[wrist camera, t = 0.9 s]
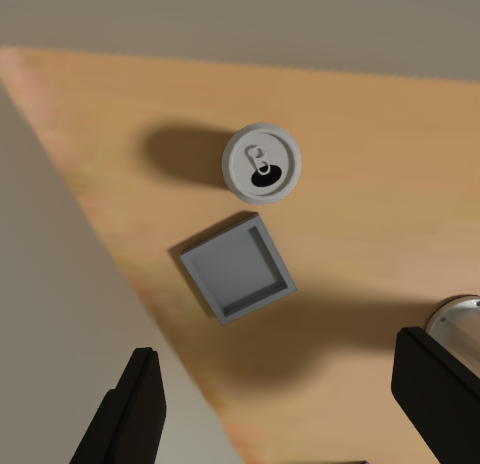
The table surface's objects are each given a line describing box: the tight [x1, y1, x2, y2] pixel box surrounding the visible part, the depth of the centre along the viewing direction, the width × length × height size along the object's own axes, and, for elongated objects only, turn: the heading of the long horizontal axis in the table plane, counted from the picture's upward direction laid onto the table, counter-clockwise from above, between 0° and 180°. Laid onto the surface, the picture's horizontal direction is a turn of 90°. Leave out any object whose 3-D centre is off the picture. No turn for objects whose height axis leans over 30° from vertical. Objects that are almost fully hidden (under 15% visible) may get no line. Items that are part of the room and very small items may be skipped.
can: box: [221, 122, 302, 205], centre depth 28 cm, size 8×8×12 cm
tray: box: [179, 212, 297, 326], centre depth 37 cm, size 12×12×2 cm
